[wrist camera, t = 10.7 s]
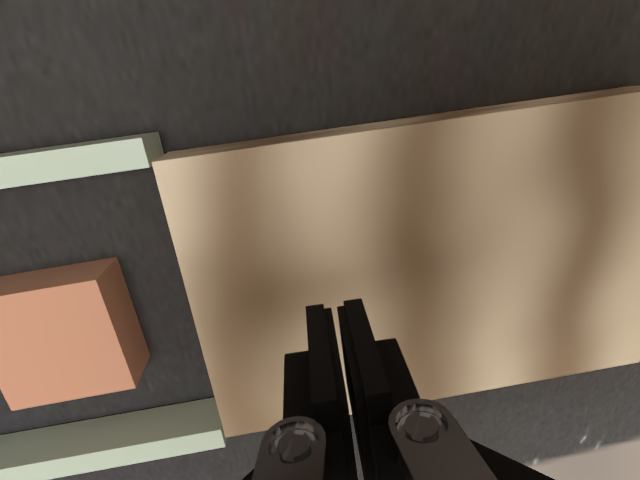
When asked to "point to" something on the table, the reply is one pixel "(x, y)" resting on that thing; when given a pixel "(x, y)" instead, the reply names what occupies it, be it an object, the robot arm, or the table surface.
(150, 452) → the u-shaped frame
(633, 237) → the wooden cutting board
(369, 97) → the table surface
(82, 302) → the terracotta tile
